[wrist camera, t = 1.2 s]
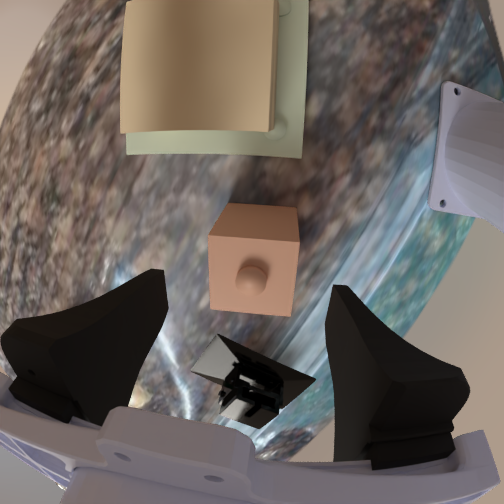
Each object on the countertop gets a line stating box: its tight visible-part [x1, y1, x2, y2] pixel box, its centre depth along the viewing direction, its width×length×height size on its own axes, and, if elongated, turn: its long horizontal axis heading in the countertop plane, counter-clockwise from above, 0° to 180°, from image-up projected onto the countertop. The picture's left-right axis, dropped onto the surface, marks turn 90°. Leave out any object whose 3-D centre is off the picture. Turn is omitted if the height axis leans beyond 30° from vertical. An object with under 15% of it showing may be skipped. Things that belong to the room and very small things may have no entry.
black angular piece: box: [191, 334, 316, 429], centre depth 23 cm, size 12×7×5 cm, turn 61°
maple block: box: [120, 0, 279, 133], centre depth 12 cm, size 7×7×3 cm
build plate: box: [126, 0, 309, 159], centre depth 14 cm, size 10×10×1 cm
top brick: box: [208, 203, 300, 317], centre depth 16 cm, size 4×4×5 cm
